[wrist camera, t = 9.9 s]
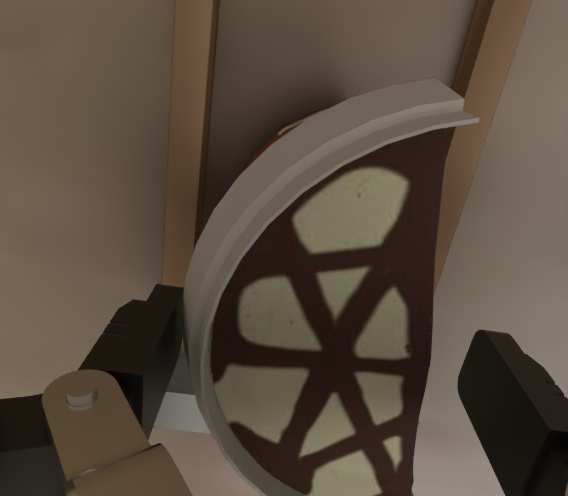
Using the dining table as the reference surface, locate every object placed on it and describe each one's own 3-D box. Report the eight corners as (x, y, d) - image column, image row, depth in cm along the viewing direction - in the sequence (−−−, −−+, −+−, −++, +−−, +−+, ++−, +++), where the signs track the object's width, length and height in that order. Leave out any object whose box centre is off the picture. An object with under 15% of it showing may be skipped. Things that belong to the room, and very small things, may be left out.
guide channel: (748, -741, 10) (1010, -1190, 6) (387, 392, 23) (406, 457, 20) (234, -888, 9) (200, -1476, 6) (165, 364, 23) (141, 425, 19)
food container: (181, 72, 16) (120, 106, 7) (348, 63, 17) (484, 85, 8) (216, 350, 22) (206, 574, 12) (344, 338, 22) (424, 543, 13)
